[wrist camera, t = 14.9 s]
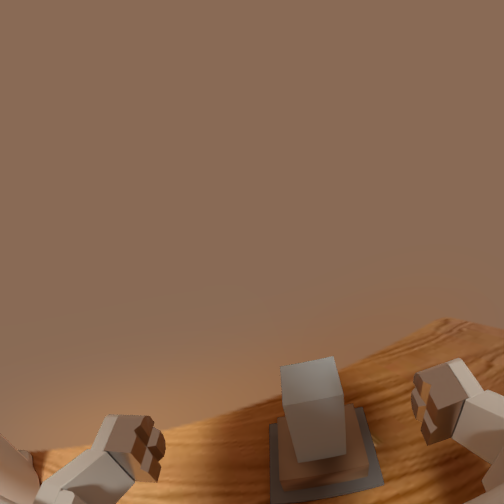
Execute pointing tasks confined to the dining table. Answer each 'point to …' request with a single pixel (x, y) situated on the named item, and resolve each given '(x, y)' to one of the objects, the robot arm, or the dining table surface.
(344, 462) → the base slab
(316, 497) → the build pad
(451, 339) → the dining table surface
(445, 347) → the dining table surface
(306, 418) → the pillar
